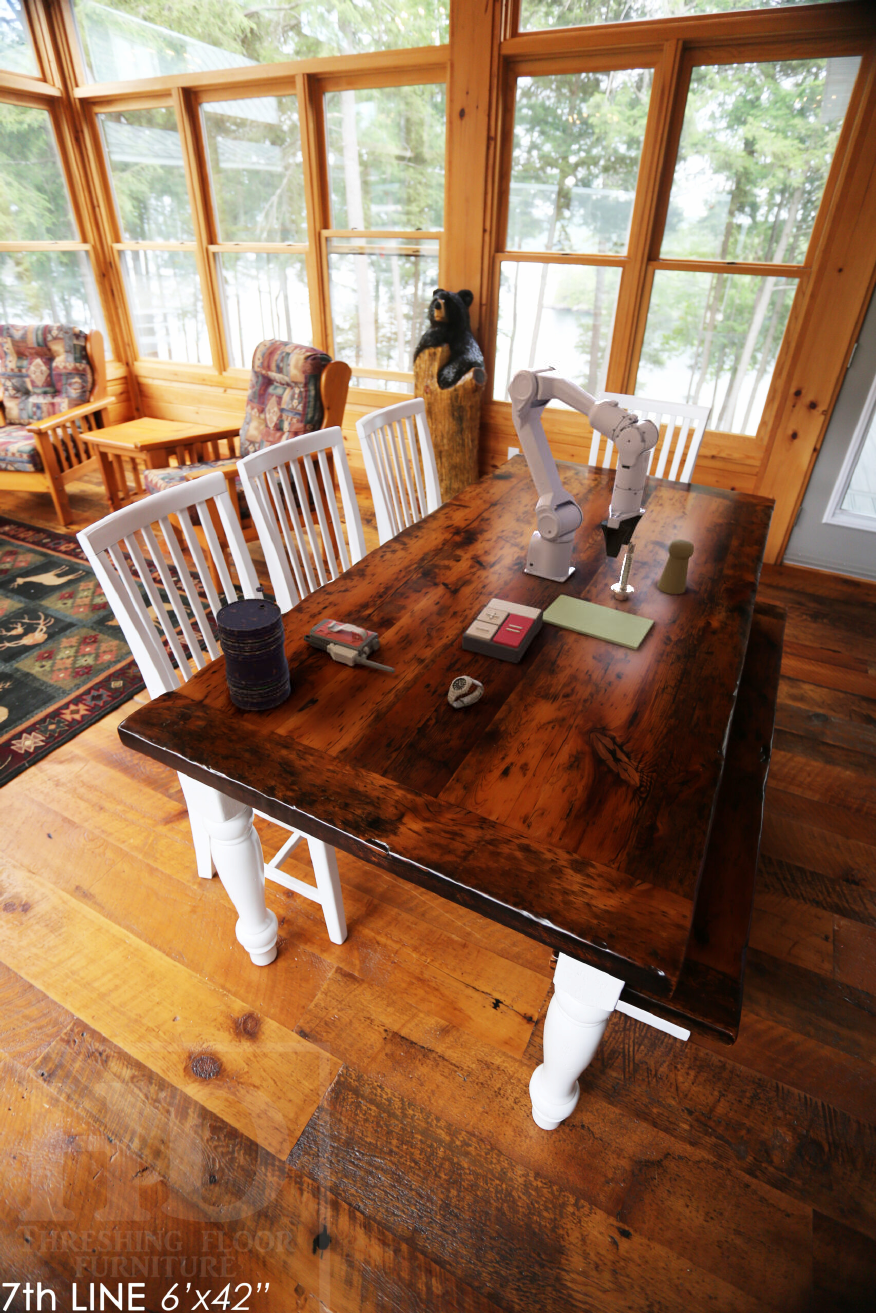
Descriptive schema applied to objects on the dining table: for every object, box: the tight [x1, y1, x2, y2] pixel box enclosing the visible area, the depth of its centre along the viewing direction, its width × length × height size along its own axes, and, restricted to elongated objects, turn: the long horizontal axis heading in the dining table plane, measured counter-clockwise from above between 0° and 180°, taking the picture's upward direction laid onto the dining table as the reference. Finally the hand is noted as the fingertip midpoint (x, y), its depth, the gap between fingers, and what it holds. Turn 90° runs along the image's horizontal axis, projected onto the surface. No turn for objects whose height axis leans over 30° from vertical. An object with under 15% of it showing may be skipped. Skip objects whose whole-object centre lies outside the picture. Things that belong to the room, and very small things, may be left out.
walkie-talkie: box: [303, 618, 396, 674], centre depth 116 cm, size 9×4×20 cm
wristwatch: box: [447, 675, 485, 709], centre depth 104 cm, size 4×6×5 cm, turn 119°
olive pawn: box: [656, 538, 695, 595], centre depth 140 cm, size 6×6×11 cm
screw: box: [610, 541, 636, 601], centre depth 135 cm, size 13×5×5 cm
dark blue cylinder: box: [215, 586, 291, 711], centre depth 102 cm, size 10×10×18 cm
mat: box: [542, 594, 655, 651], centre depth 129 cm, size 20×12×1 cm, turn 59°
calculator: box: [461, 598, 544, 664], centre depth 122 cm, size 11×4×15 cm
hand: (617, 550), depth 134 cm, fingers open, 7 cm apart
